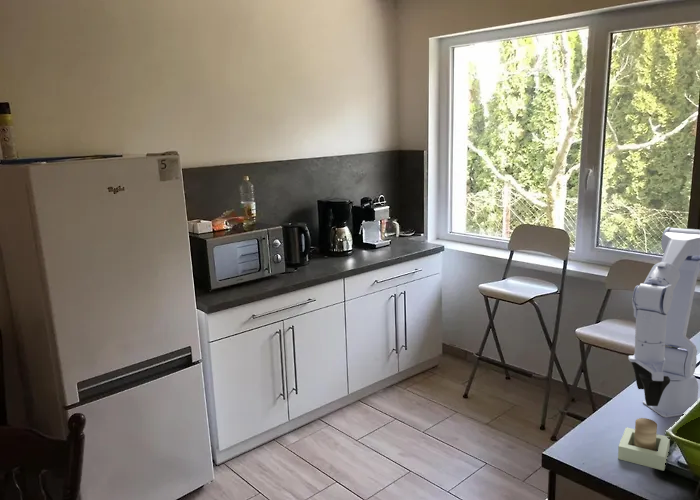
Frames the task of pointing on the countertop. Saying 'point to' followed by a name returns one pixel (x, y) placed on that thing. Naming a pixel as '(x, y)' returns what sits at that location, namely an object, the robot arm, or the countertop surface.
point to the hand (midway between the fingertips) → (647, 396)
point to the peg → (645, 433)
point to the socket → (643, 451)
